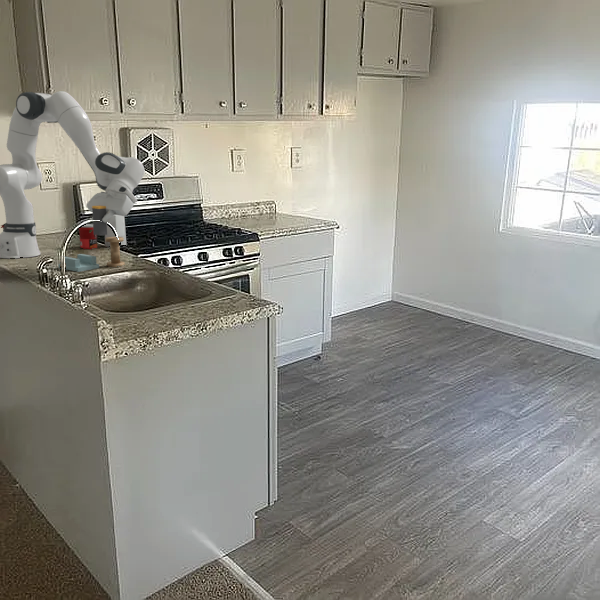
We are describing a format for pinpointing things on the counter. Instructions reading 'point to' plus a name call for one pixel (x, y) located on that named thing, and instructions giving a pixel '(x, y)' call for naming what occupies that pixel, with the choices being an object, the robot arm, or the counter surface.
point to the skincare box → (116, 228)
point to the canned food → (87, 237)
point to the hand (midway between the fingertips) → (98, 220)
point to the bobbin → (115, 251)
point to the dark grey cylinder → (100, 227)
